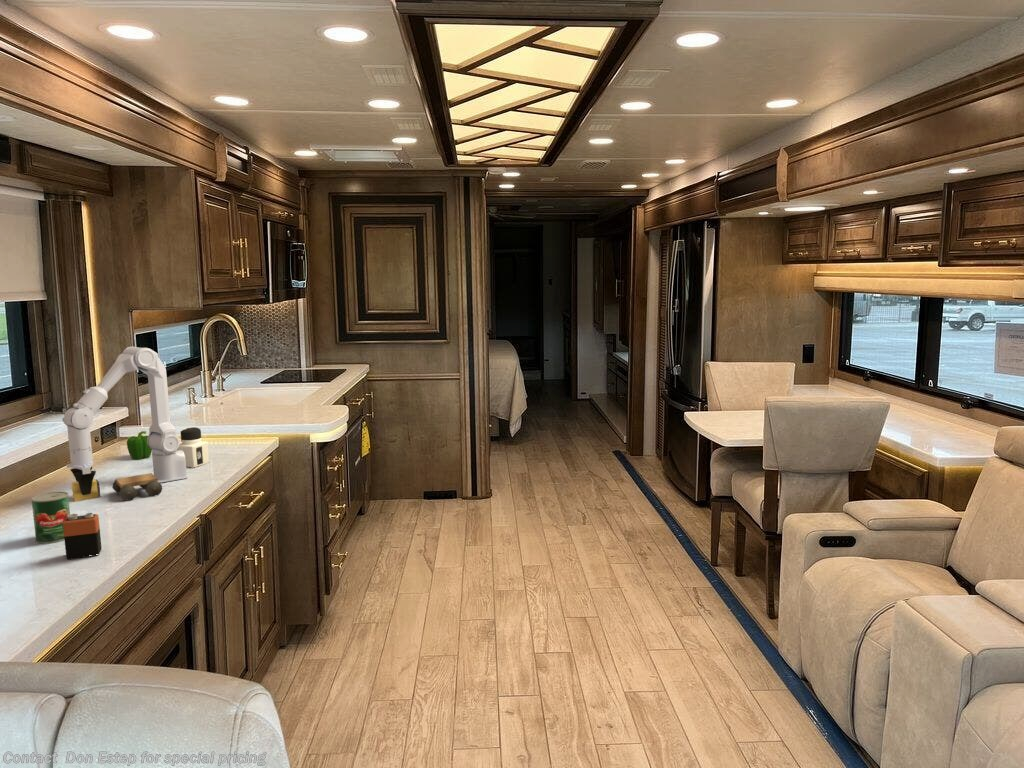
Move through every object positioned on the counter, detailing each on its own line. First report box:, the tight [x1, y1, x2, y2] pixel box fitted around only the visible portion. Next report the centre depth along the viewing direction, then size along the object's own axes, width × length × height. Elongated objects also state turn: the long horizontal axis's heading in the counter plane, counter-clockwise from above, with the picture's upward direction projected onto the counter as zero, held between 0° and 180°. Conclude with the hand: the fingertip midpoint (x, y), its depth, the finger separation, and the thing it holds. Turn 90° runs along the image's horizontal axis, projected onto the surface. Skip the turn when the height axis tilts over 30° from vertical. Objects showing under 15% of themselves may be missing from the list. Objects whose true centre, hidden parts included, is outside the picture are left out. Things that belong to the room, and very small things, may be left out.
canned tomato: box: [30, 491, 71, 544], centre depth 184 cm, size 8×8×11 cm
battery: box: [63, 512, 102, 560], centre depth 173 cm, size 4×7×10 cm, turn 111°
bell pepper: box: [126, 430, 152, 460], centre depth 266 cm, size 8×8×10 cm
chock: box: [71, 478, 101, 502], centre depth 218 cm, size 7×4×5 cm, turn 128°
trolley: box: [112, 472, 163, 502], centre depth 222 cm, size 11×11×5 cm
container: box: [177, 427, 210, 469], centre depth 255 cm, size 8×8×13 cm
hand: (85, 492), depth 218 cm, fingers closed on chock, 4 cm apart
